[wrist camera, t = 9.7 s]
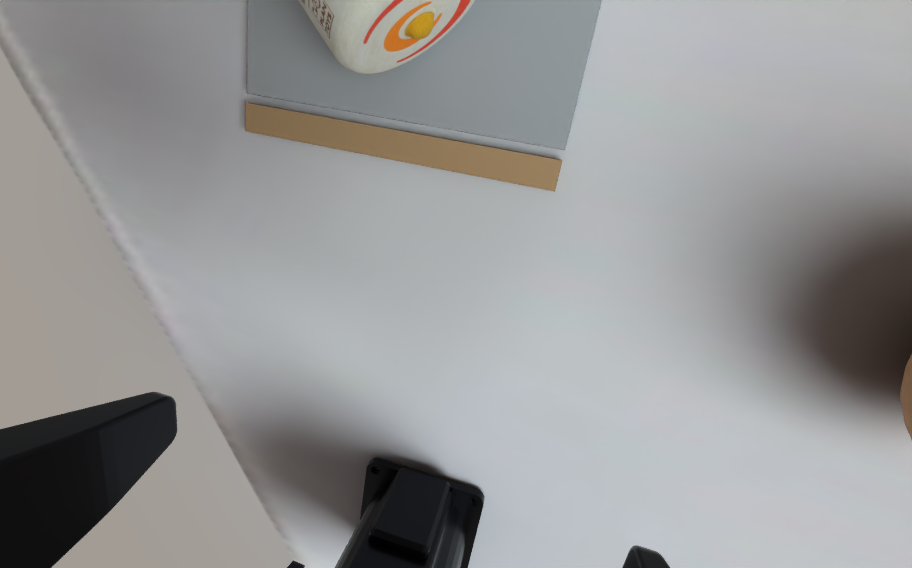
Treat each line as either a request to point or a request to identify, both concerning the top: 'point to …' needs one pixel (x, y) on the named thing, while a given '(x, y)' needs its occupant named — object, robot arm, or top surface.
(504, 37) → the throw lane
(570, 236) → the top surface
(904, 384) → the egg
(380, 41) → the roller toy
